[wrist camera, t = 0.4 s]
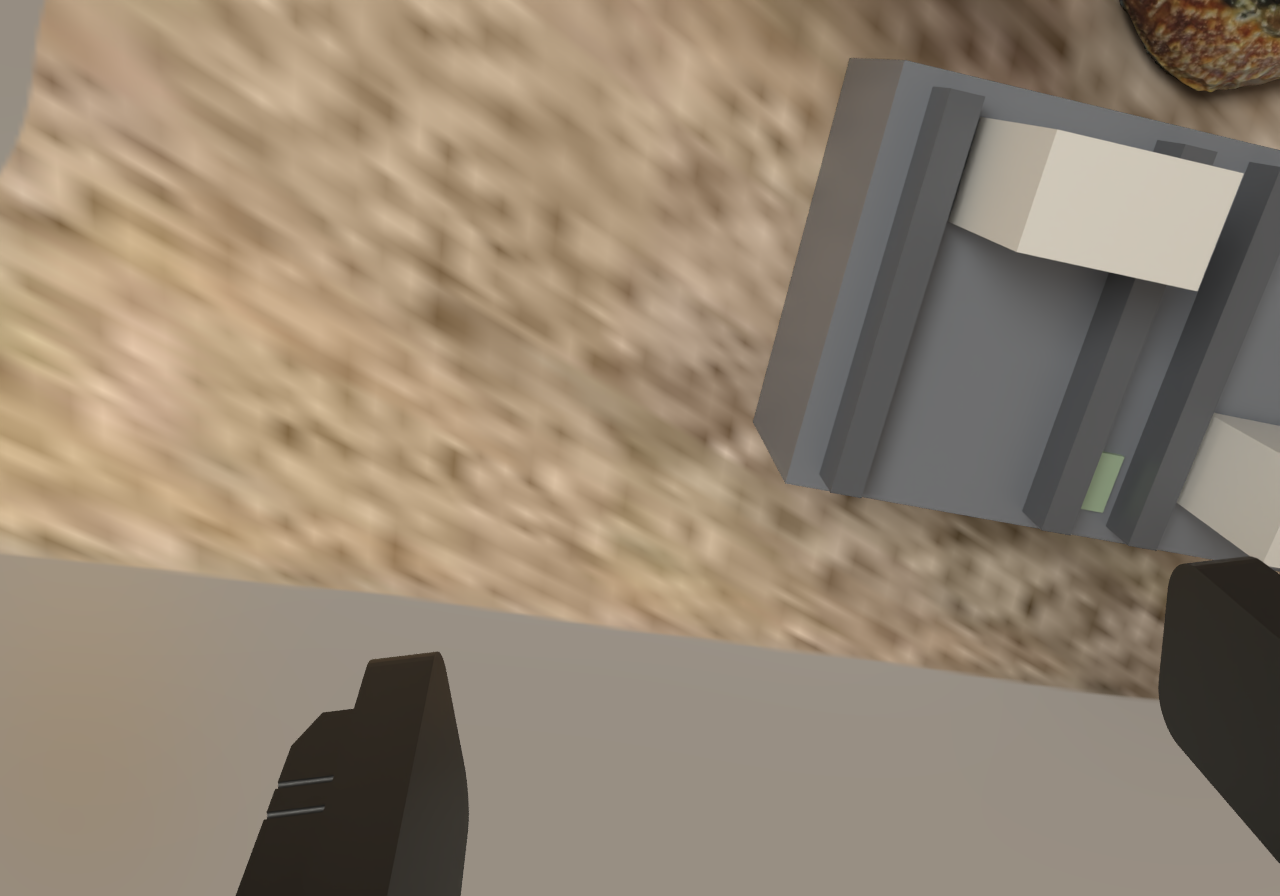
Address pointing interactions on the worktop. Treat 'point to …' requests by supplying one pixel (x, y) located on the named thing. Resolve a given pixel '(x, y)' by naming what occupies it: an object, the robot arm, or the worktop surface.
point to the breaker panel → (1010, 329)
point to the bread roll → (1211, 40)
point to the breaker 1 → (1093, 202)
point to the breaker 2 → (1238, 485)
